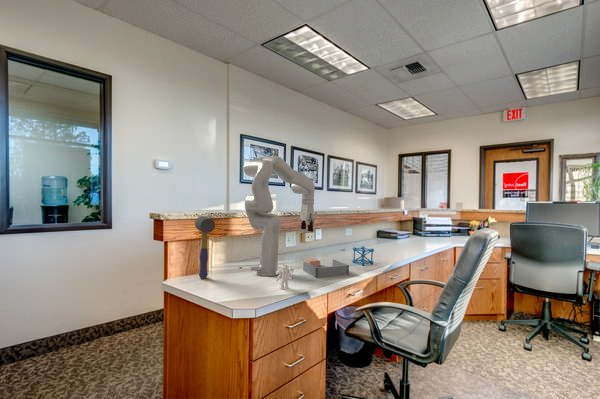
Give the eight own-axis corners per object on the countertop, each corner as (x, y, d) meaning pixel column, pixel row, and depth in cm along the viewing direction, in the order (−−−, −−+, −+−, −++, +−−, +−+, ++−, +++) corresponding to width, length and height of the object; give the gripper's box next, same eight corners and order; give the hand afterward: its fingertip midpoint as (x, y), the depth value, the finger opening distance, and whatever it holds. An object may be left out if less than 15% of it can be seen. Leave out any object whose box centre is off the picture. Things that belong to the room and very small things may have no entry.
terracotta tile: (309, 268, 177) (309, 261, 177) (304, 265, 183) (304, 258, 183) (320, 267, 180) (320, 260, 179) (314, 264, 186) (315, 258, 186)
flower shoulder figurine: (278, 291, 133) (279, 264, 133) (273, 288, 136) (274, 262, 136) (294, 287, 139) (295, 261, 139) (289, 285, 142) (290, 259, 142)
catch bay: (316, 277, 156) (316, 268, 156) (303, 270, 170) (303, 261, 170) (348, 274, 165) (349, 265, 165) (333, 267, 179) (334, 259, 178)
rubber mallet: (214, 280, 146) (216, 217, 145) (198, 282, 142) (200, 217, 141) (207, 274, 156) (209, 215, 156) (192, 275, 152) (193, 215, 152)
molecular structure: (362, 261, 200) (362, 245, 199) (374, 264, 192) (374, 248, 191) (351, 262, 194) (351, 247, 194) (363, 266, 186) (363, 249, 185)
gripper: (296, 201, 195) (295, 228, 195) (308, 202, 179) (307, 232, 179) (306, 201, 198) (305, 228, 198) (320, 203, 182) (319, 231, 183)
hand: (306, 230), depth 189 cm, fingers open, 8 cm apart
